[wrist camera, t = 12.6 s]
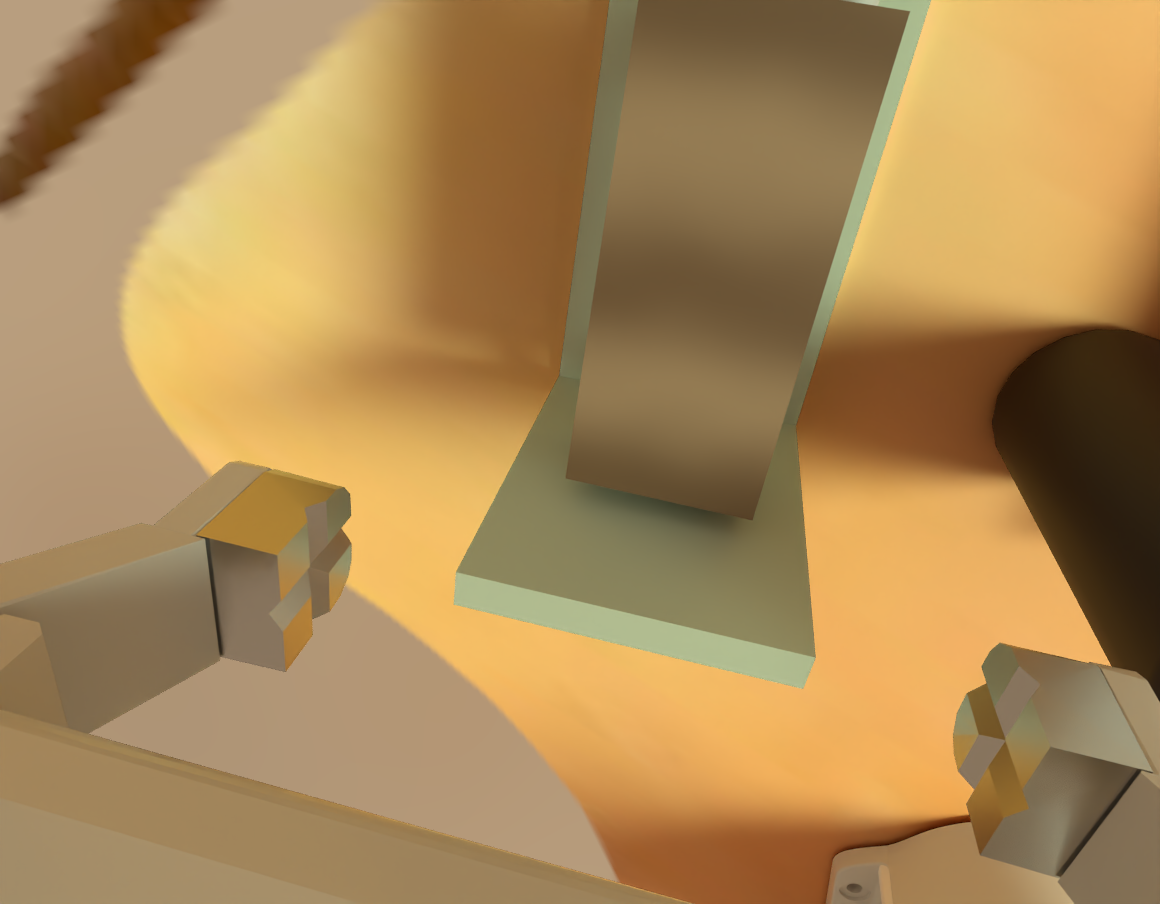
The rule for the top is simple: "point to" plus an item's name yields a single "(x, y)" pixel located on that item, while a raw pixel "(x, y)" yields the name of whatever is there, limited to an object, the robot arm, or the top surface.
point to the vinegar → (1095, 479)
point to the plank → (722, 236)
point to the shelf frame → (651, 526)
